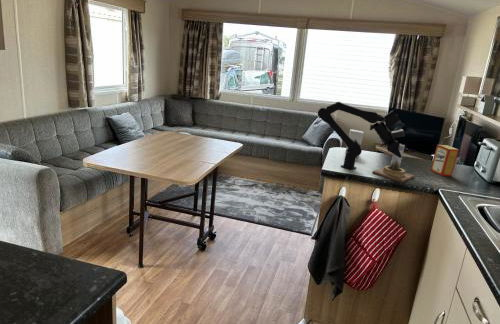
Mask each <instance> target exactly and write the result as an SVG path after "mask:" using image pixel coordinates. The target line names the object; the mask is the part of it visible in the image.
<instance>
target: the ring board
mask: <svg viewBox="0 0 500 324" xmlns="http://www.w3.org/2000/svg"><path fill="white" fill-rule="evenodd" d="M371 173H372V174H374V175H377V176H380V177H383V178H385V179H386V178H387V179H389V180H393V181H396V182H398V183H404V182H406V181H409V180H412V179H414V178H415V175H414V174H410V173H407V172H406V169H403V168H401V167H399V170H394V169H391V168H390V165H385V166H383V167H381V168H378V169H375V170H372V171H371Z"/></svg>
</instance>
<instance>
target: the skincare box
mask: <svg viewBox="0 0 500 324" xmlns="http://www.w3.org/2000/svg"><path fill="white" fill-rule="evenodd" d="M348 133H349V134H348V136H349V137H350V138H351V139H353V140H355V139H357V141H358V142H359V143H360V144H361V145H362V142H363V138H364V134H365V133H364V131H362V130H357V129H352V128H350V129H349V132H348ZM346 150H348V147H347V146H346V148H345V152H344V153H345V156H346ZM356 158H359V156H357V157H356Z"/></svg>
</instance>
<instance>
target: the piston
mask: <svg viewBox="0 0 500 324" xmlns="http://www.w3.org/2000/svg"><path fill="white" fill-rule="evenodd" d="M399 144H400V146H399V147H398V149H399V151H400V154H401V156H402V157H401V158H399V157H398V156H396V155H394V154H393V153H392V157H391V162H390V165H389V166H390V168H391V169H394V170H399V168H401V167H400V166H401V162H402V158H403V155H404V151H405V147H406V145H405V144H402V143H399Z"/></svg>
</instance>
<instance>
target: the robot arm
mask: <svg viewBox="0 0 500 324" xmlns="http://www.w3.org/2000/svg"><path fill="white" fill-rule="evenodd" d="M337 111H341V112H344V113H347V114H351V115H352V116H353V115H354V116H356V117H359V118H360V119H363V120H364V121H366V122H368V123H369V124H370V125H369V131H372V130H374V131H375V132H376V134H377V136H378V137H379V139H380V140H381V141H382V142H383V144H384V146H386V147H385V148H386V151H388V153H391V154H392V155H393V154H394V155H396V156H398V157H399V158H401V157H402V158H403V155H402V156H401V154H400V151H399V149H398V147H399V146H400V144H401V143H399V141H398V140H397V139H398V138H404V137H405V131H404V129H402V128H399V127H395V128H394V130H392V131H391V130H390V129H389V128H388V127H394V126H396V125H397V124H399V123H401V119H400V117H399V115H398V114H397V113H396V112H395V111H394V110H391V111H390V112H388V113H387V114H385V115H381V114H378V113H377V112H376V111H374V110H370V109H362V108H358V107H357V106H356V107H355V106H353V105H349V104H346V103H344V102H341V101H336V102H335V103H332V104H330V105H327V106H322V107H320V108H319V109H318V110H317V116H318V118H319V119H321V120H322V121H323V122H325V123H326V124H327V125H329V127H330V128H331V129H332V130H333V131H334V132H335V134H336V135H338V137H339V138H340V139H341V140H342V141H343V142H344V143H345V146H346V147H348V150H346V149H345V151H346V155H345V157H344V161H343V164H341V165H340V167H342V168H344V169H347V170H350V171H351V170H356V169H357V168H358V167H356V166H355V164H356V158H358V157H359V156H360V155H361V154H362V151H363V149H362V143H361V144H360V143H359V142H358V141H357V139H355V140H353V139H351V138H350V137H349V134H348V133H347V132H346V131H345V130H344V129H343V127H342V126H341V125H340V124H339V123H338V122H337V121H336V120H335V118H334V116H333V115H332V114H333V113H336V112H337ZM357 156H358V157H357Z"/></svg>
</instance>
